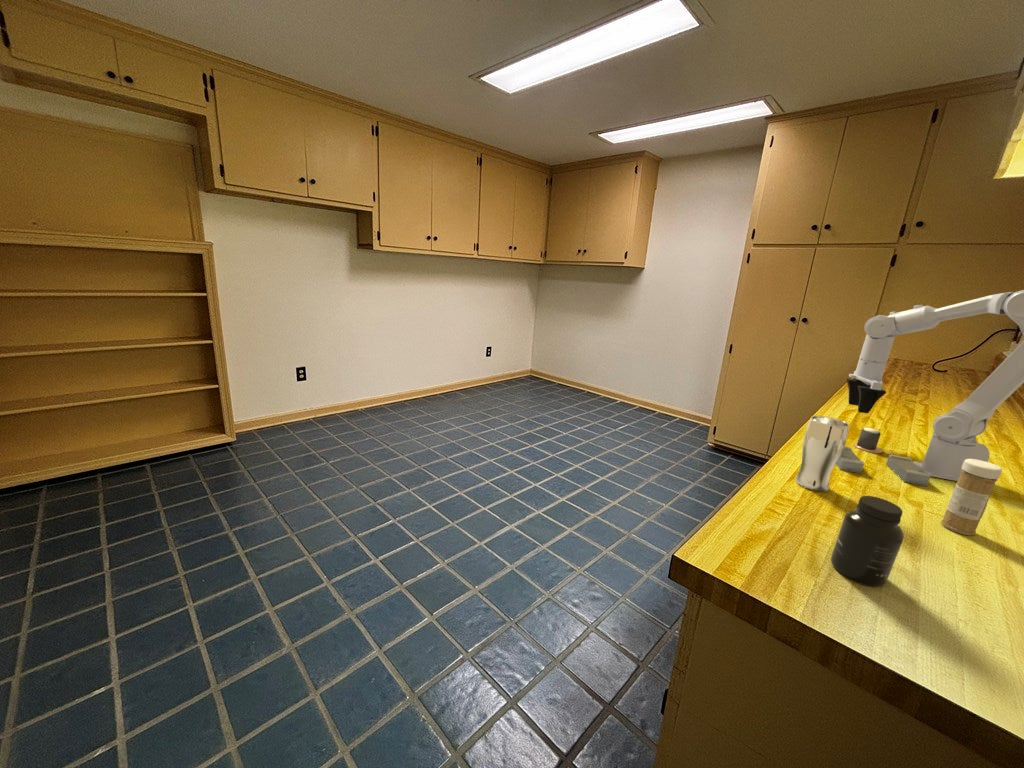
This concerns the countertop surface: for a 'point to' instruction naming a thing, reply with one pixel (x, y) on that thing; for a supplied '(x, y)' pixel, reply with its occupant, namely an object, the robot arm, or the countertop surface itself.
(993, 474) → the sprinkles bottle
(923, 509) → the countertop surface
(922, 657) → the countertop surface
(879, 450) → the coaster
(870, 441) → the grey short cylinder
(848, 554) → the supplement bottle
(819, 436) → the beer glass
